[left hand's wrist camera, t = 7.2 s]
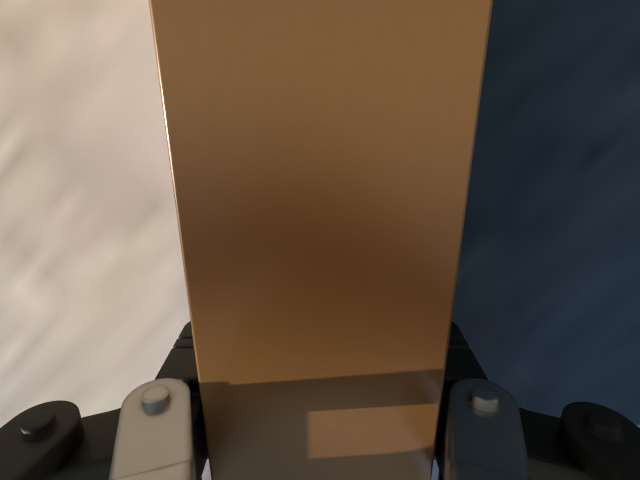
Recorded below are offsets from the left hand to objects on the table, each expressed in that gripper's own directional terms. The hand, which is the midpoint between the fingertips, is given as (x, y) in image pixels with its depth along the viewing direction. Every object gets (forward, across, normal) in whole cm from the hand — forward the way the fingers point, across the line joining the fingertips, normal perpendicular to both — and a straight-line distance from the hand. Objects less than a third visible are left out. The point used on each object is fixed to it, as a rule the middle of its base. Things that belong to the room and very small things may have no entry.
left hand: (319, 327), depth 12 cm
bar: (+2, 0, -23) cm, 23 cm away
